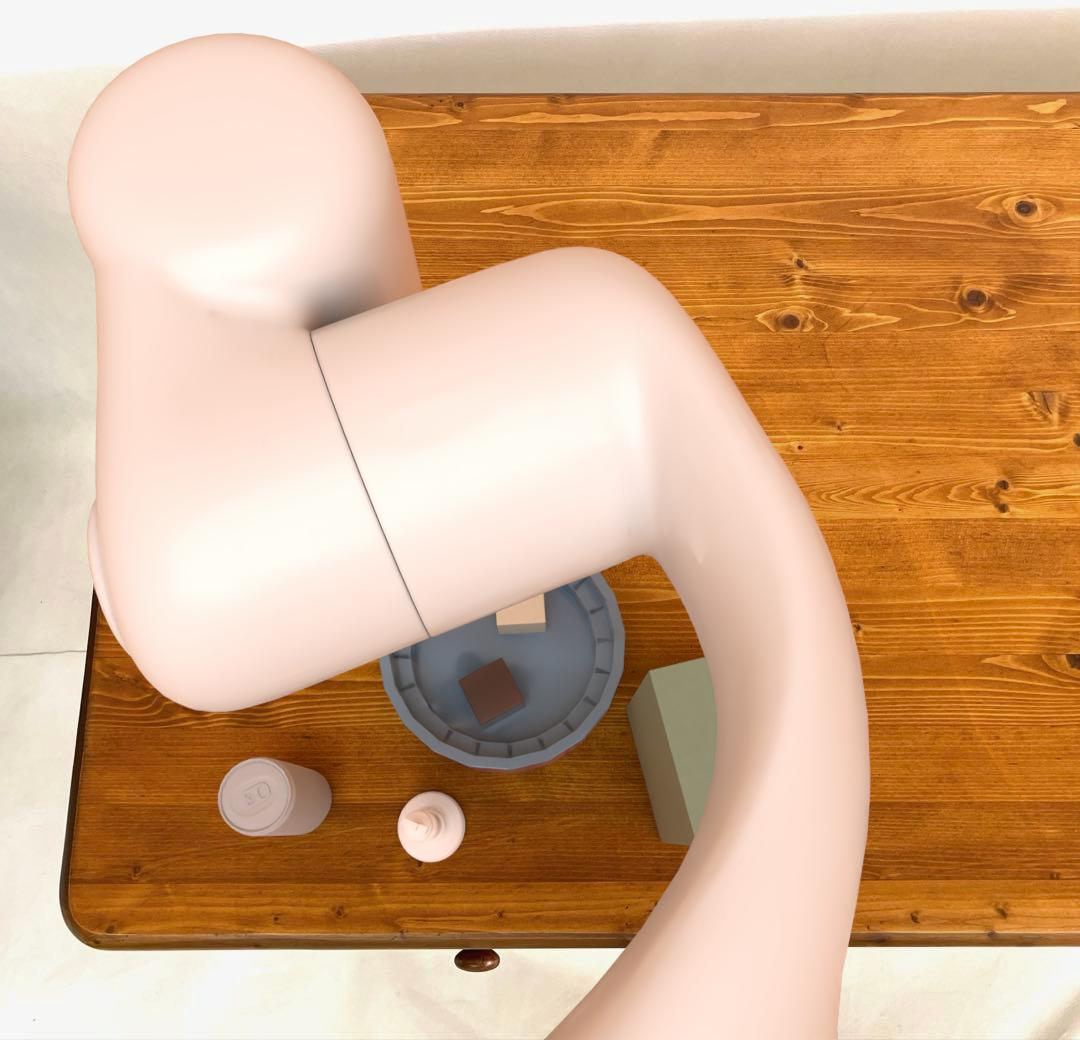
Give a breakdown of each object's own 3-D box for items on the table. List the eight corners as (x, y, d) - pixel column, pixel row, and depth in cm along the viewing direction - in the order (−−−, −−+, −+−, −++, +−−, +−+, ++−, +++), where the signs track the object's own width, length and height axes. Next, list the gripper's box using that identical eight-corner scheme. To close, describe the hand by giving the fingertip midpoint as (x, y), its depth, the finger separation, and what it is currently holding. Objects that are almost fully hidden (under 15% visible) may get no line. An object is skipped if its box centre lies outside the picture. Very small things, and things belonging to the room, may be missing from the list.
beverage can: (258, 786, 72) (203, 778, 61) (318, 755, 73) (275, 742, 62) (283, 847, 71) (232, 850, 60) (344, 815, 72) (305, 813, 60)
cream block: (545, 631, 75) (545, 622, 72) (498, 634, 75) (496, 625, 72) (542, 586, 76) (542, 574, 73) (496, 589, 76) (494, 577, 73)
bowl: (645, 741, 73) (653, 734, 68) (415, 798, 72) (404, 796, 67) (587, 523, 78) (590, 501, 73) (371, 573, 77) (358, 554, 72)
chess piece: (451, 871, 70) (435, 878, 61) (387, 848, 71) (362, 851, 61) (474, 804, 72) (463, 800, 62) (412, 782, 72) (391, 775, 63)
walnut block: (526, 706, 73) (525, 700, 70) (483, 730, 73) (480, 725, 69) (503, 664, 74) (501, 656, 71) (461, 687, 74) (457, 680, 70)
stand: (793, 809, 72) (870, 802, 54) (661, 842, 71) (697, 846, 54) (752, 676, 75) (813, 630, 57) (625, 707, 74) (648, 670, 57)
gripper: (102, 537, 32) (261, 639, 49) (588, 428, 33) (573, 566, 50) (79, 334, 34) (239, 501, 51) (536, 237, 35) (539, 434, 52)
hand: (404, 532), depth 51 cm, fingers closed on stirring stick, 2 cm apart
